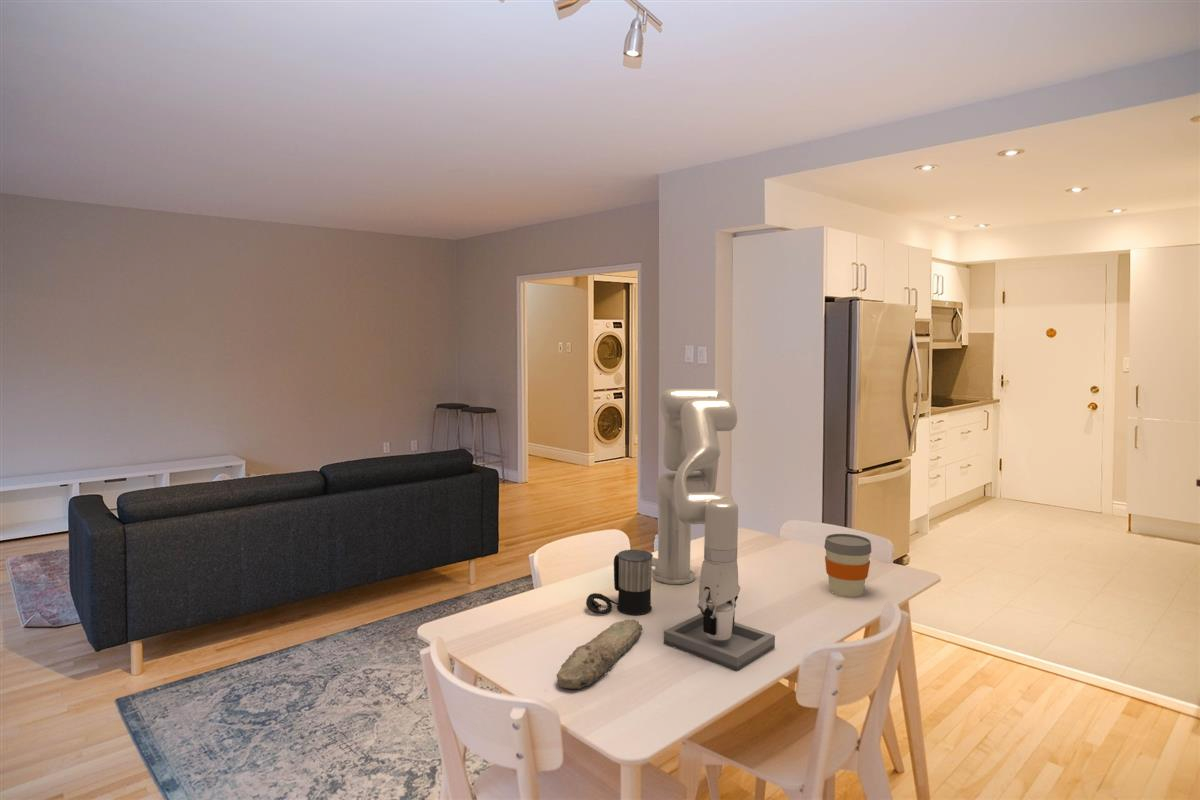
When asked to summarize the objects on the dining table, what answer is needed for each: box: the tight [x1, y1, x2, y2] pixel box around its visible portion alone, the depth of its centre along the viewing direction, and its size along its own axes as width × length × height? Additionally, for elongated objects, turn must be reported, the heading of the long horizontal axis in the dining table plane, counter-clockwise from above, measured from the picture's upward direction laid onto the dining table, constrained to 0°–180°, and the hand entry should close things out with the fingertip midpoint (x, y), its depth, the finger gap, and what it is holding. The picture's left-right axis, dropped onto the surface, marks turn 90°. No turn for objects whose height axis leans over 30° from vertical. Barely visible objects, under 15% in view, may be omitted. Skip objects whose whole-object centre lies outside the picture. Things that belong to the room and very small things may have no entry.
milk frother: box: [585, 548, 654, 616], centre depth 186 cm, size 14×16×15 cm
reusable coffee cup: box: [824, 533, 872, 598], centre depth 201 cm, size 12×13×15 cm
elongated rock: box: [556, 618, 643, 690], centre depth 159 cm, size 35×5×10 cm
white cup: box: [707, 601, 735, 640], centre depth 165 cm, size 7×7×7 cm
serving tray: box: [663, 612, 776, 672], centre depth 165 cm, size 20×16×3 cm
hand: (718, 627), depth 165 cm, fingers closed on white cup, 6 cm apart
